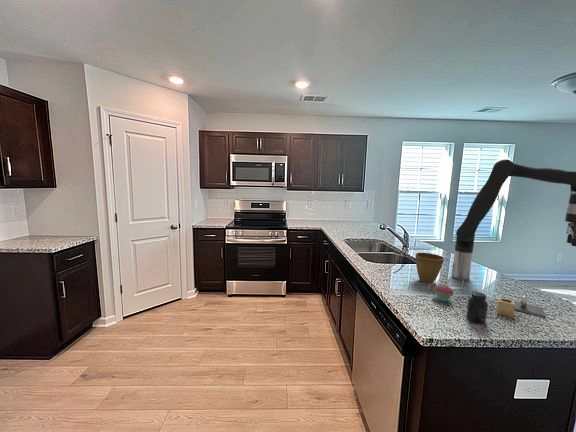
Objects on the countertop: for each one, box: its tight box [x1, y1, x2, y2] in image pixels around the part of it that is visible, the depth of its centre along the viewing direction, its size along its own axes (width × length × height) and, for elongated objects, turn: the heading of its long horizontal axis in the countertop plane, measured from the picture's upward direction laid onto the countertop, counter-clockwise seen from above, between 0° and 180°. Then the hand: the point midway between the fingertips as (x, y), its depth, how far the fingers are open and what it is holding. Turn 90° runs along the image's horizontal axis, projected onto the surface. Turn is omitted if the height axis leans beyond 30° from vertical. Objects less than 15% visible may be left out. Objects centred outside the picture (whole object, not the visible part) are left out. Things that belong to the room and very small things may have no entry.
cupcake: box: [433, 277, 455, 302], centre depth 126 cm, size 9×8×12 cm
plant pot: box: [415, 252, 445, 285], centre depth 149 cm, size 15×15×16 cm
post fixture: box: [514, 295, 547, 318], centre depth 119 cm, size 14×10×6 cm
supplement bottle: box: [465, 291, 489, 325], centre depth 106 cm, size 7×7×12 cm
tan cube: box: [496, 296, 515, 318], centre depth 114 cm, size 6×6×6 cm
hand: (572, 244), depth 127 cm, fingers open, 8 cm apart
